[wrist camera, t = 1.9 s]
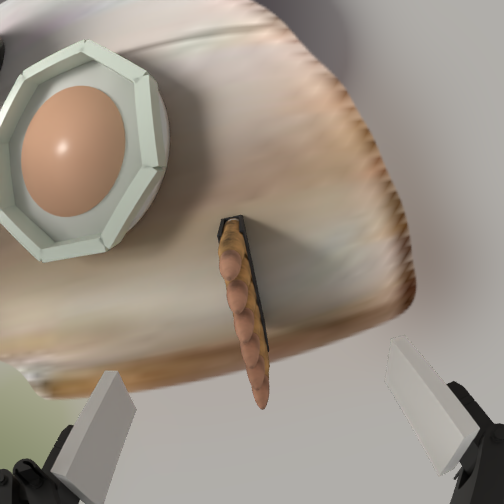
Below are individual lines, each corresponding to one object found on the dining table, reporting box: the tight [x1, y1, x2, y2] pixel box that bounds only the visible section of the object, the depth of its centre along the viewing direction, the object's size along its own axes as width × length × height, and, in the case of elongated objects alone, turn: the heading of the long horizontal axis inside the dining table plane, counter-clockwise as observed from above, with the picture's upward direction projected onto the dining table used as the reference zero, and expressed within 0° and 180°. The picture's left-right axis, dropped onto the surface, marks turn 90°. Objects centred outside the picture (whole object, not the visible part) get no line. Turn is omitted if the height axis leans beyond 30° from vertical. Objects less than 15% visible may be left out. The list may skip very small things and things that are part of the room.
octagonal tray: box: [0, 39, 170, 263], centre depth 20 cm, size 19×19×4 cm
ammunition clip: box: [217, 215, 270, 410], centre depth 20 cm, size 11×2×12 cm, turn 11°
